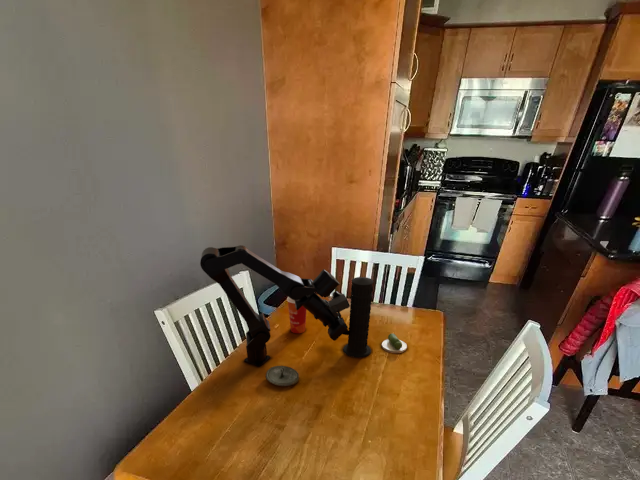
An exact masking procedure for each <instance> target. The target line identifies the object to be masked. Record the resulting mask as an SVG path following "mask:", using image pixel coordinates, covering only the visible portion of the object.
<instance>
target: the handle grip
mask: <svg viewBox="0 0 640 480" xmlns="http://www.w3.org/2000/svg"><path fill="white" fill-rule="evenodd" d="M374 281H375V280H373V279H372V278H370V277H366V276H357V277H353V278H352V279H351V291H350V303H349V305H350V307H349V319H348V321H349V322H348V331H349V332H350V334H349V335H347V343H346V344H345V345H344V346H343V348H342V352H343V353H344V355H346V356H347V357H348V356H349V357H351V358H358V359H360V358H366V357H368V356H370V355H371V353H372V349H371V347H370V345H368V339H369V331H370V322H371V321H370V320H371V310H372V302H373V301H372V300H373V290H374V287H373V285H374V283H375V282H374Z"/></svg>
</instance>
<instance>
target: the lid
mask: <svg viewBox="0 0 640 480" xmlns="http://www.w3.org/2000/svg"><path fill="white" fill-rule="evenodd" d="M265 379H266V380H267V381H268V383H270V384H273V385H275V386H278V387H290V386H293V385H296V384H297V383H298V382H299V380H300V373H299V372H298V371H297V369H295V368H293V367H291V366H287V365H275V366H271V367H270V368H268V369H267V370H266V372H265Z"/></svg>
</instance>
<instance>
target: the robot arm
mask: <svg viewBox="0 0 640 480" xmlns="http://www.w3.org/2000/svg"><path fill="white" fill-rule="evenodd" d="M200 256H201V257H200V262H199V265H200V268H201V270H202V271H203V273H205V274H206V275H207V276H208V277H209V278H210V279H211V280H212V281H213V282H215V283H217V285H219V286H220V288H221V289H222V290H223V292H224V293H225V294H226V296H227V298H228V299H229V300H230V302H231V303H232V304H233V306H234V307H235V309H236V310H237V312H238V313H239V315H240V316H241V317H242V319H243V320H244V322H245V324H246V326H247V329H248V330H247V331H246V333H245V341H246V346H245V349H246V356H247V357H246V358H244V360H243V361H244V362H245V363H247V364H251V365H253V366H256V367H261V366H262V365H264V364H265V363H266V362H268V360H270V359H271V356H270V355H268V350H267V349H268V348H267V343H268V342H269V341H270V340H271V324H270V321H269V320H268V319H267V318H266V316H265V314H264V312H261V313H260V314H259V313H258V312H256V310H255V309H254V308H253V306H252V305H251V304H250V302H249V300H248V299H247V298H246V296H245V294H244V292H242V290H241V289H240V287H239V286H238V284H237V283H236V282H235V280H234V278H233V277H232V276H231V273H230V271H229V269H231V268H232V267H235V266H237V265H241V264H242V265H243V266H245V267H246V268H248V269H250V270H252V271H253V272H255V273H256V274H258V275H260V276H261V277H263V278H265V279H266V280H267V281H270V282H271V283H273V284H274V285H276V286H277V287H278V288H279V289H280V290H281V292H282V293H284V294H285V295H286V296H287V298H288V297H289V298H291V299H292V300H294V301H295V307H296V310H299V309H300V308H301V307H302V306H303V307H304V308H305V309H306V311H307V312H308V313H310V314H311V315H312V316H313V318H314V319H315V320H319V322H321V323H322V325H323V326H324V327H325V328H326V327H327V334H328V337H329V338H330V339H331V340H332V341H337V340H338V339H339V338H340V337H341V336H342V335H344V336H349V334H350V332H349V326H348V325H347V323H346V322H345V319H344V317H343V316H342V314H341V312H342V311H344V310H346V309H350V305H351V304H350V303H349V300H348V298H347V296H346V295H345V293H343V292H339V291H337V290H336V289H337V288H338V287H339V286H340V284H341V283H340V282H339V280H337V278H336V277H335V276H334V275H333V274H332V273H331V272H330V273H329V271H327V270H326V269H325V268H324V269H322V270H321V271H320V272H319V274H318V275H317V276H316V277H315V279H313V280H312V279H311V278H301V277H300V276H298V275H296V274H294V273H292V272H289V271H285V270H284V271H283V270H281V269H280V268H278V267H276V266H275V265H273V264H272V263H270V262H269V261H267V260H265V259H263V258H262V257H261V256H259V255H257V254H256V253H255V252H253V251H251V250H249V249H248V248H247V246H245V245H236V246H224V247H213V246H209V247H206V248H204V249H203V251H202V253H201V255H200ZM330 295H332V296H331V297H332V298H330V300H327V299H326V298H328V297H329V296H330ZM323 298H324V299H323Z"/></svg>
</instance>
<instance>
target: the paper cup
mask: <svg viewBox="0 0 640 480" xmlns="http://www.w3.org/2000/svg"><path fill="white" fill-rule="evenodd" d="M286 301H287V307H288V316H289V317H288V318H289V324H290V332H291V333H293V334H302V333H304V332H306V325H307V309H305V308H304V307H303V306H302V307H301V308H300V309H299V310H296V307H295V301H294V300H292V299H291V298H289V297H288V296H287V298H286Z"/></svg>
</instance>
